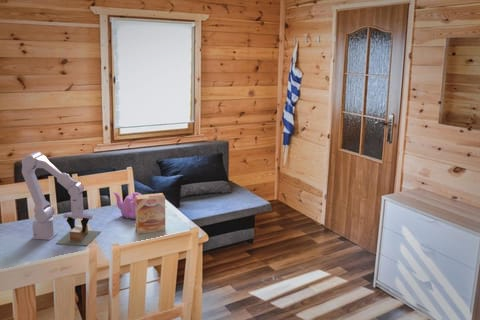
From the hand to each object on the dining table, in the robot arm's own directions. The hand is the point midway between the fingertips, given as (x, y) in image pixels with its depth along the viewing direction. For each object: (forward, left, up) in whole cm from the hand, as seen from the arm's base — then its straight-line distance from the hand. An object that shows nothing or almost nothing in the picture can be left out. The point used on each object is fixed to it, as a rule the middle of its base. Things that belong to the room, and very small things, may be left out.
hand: (78, 231), depth 240 cm
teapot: (+16, +36, -4) cm, 40 cm away
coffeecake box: (+33, +16, -4) cm, 37 cm away
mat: (0, 0, -3) cm, 4 cm away
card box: (0, 0, -3) cm, 3 cm away
